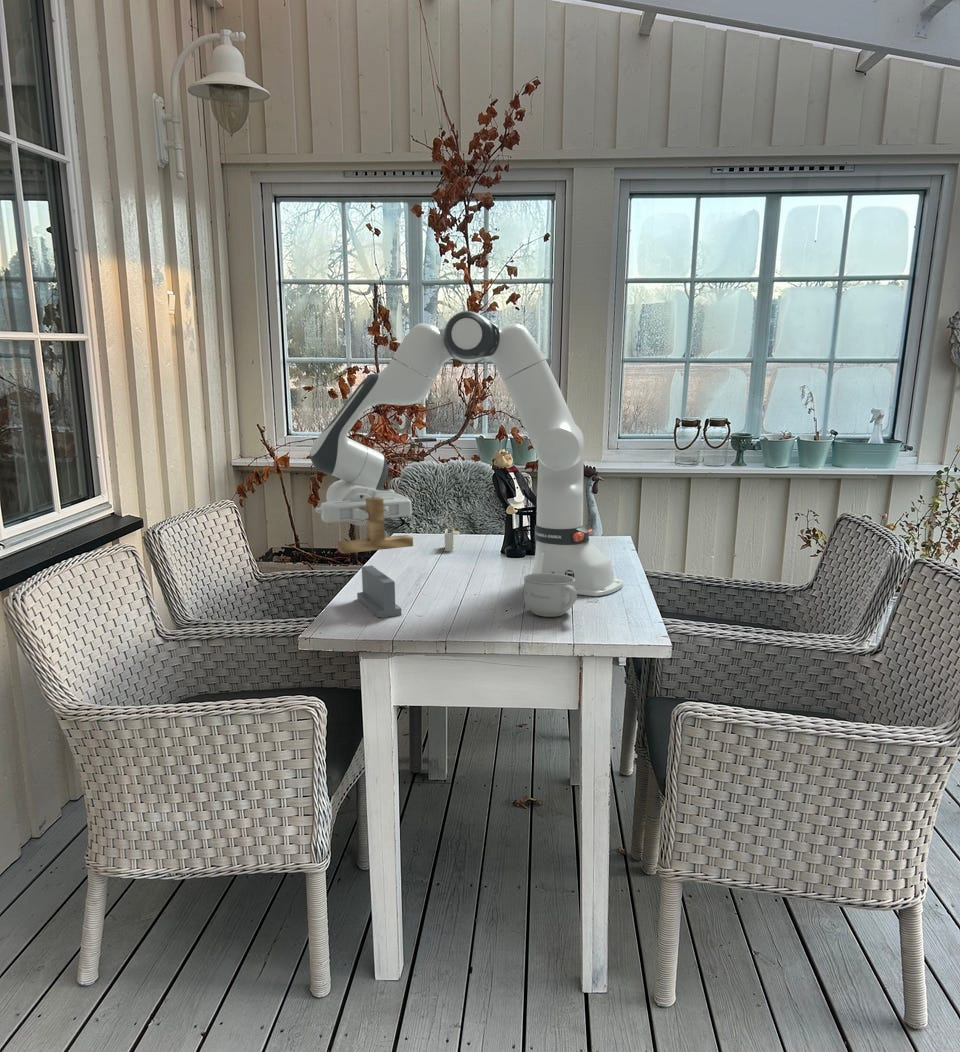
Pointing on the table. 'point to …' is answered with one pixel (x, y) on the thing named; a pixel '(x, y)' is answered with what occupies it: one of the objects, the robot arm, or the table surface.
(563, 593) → the teacup
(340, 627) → the table surface
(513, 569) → the table surface
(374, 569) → the ridge
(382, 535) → the wooden t-shaped post
